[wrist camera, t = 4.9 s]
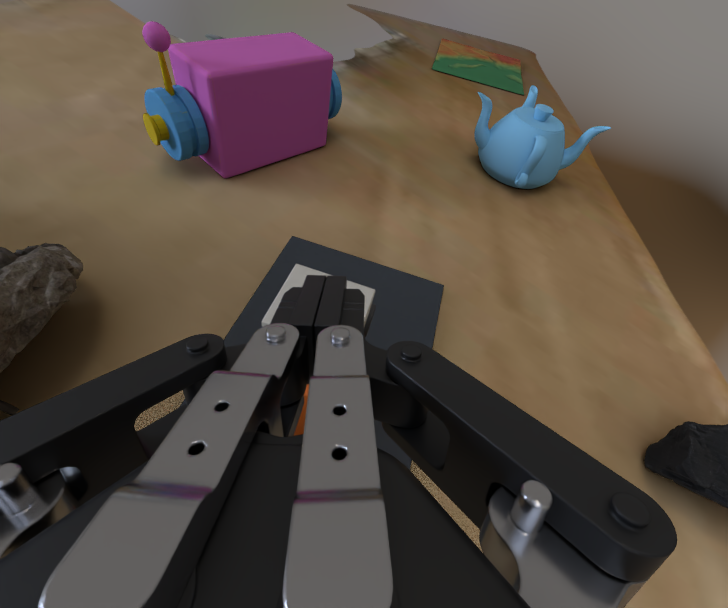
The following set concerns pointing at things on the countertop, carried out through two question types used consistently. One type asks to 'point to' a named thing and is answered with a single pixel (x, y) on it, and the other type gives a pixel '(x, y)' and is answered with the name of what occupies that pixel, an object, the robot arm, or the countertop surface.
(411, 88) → the countertop surface
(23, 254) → the fossil
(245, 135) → the toy
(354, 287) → the truck
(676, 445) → the rock
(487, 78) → the terrain model
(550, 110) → the teapot
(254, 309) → the mat
